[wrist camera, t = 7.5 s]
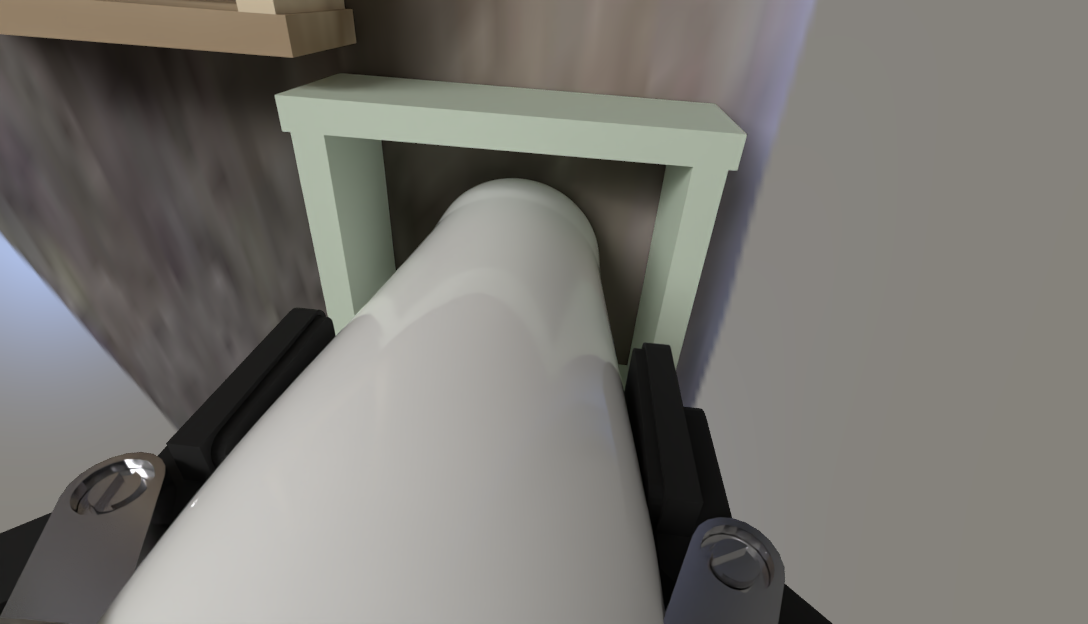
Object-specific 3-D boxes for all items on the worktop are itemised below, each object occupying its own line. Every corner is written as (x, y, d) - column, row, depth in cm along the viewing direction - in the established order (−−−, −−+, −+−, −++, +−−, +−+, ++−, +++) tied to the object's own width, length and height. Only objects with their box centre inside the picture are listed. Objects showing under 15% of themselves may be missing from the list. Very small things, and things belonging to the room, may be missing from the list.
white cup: (628, 324, 18) (715, 1086, 6) (448, 341, 19) (179, 1017, 7) (611, 131, 15) (743, 1041, 2) (390, 164, 16) (-427, 901, 3)
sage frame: (339, 72, 14) (274, 95, 11) (715, 103, 14) (747, 134, 11) (380, 356, 20) (343, 420, 17) (650, 383, 20) (660, 454, 17)
